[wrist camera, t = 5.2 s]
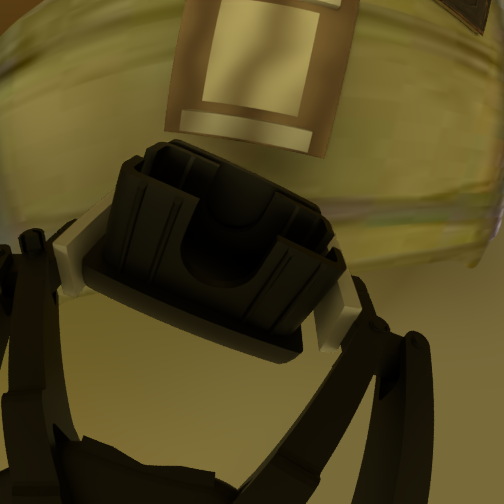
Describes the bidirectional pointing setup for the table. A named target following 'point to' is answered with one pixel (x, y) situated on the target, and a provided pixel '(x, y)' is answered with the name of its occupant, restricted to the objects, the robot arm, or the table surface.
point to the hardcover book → (469, 12)
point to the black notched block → (214, 251)
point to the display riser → (261, 71)
